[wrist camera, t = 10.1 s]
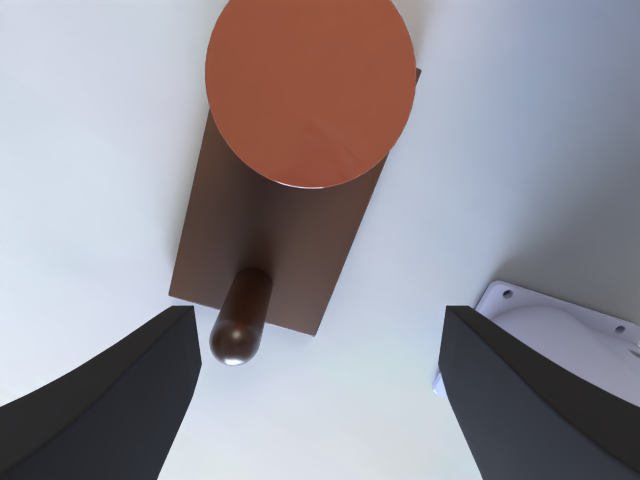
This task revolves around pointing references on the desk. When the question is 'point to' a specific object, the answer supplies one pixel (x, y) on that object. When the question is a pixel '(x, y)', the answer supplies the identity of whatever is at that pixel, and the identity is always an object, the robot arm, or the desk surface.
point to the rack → (263, 247)
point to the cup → (310, 86)
